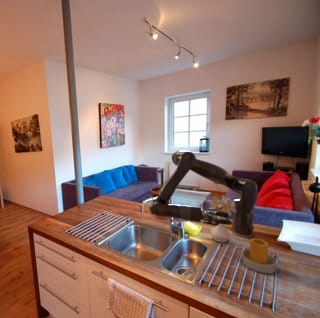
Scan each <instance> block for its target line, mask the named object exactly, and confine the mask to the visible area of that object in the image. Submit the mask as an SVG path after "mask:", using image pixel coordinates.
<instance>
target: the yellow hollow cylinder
mask: <svg viewBox="0 0 320 318" xmlns="http://www.w3.org/2000/svg"><path fill="white" fill-rule="evenodd" d="M249 249H250V260H251V261H253V262H256V263H259V264H264V265H267V258H268V254H269V243H268V242H267V241H266V240H263V239H261V238H254V237H253V238H251V239H250V242H249Z"/></svg>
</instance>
